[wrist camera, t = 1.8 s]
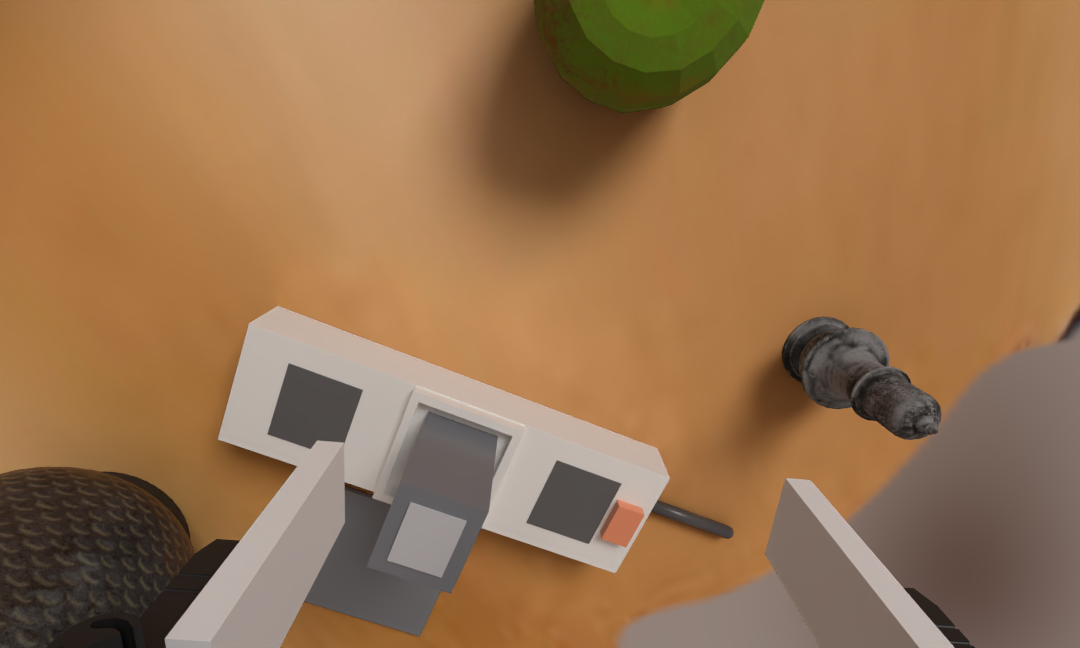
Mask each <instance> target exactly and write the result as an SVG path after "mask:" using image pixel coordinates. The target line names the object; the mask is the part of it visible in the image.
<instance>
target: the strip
mask: <svg viewBox="0 0 1080 648" xmlns="http://www.w3.org/2000/svg"><path fill="white" fill-rule="evenodd" d="M428 411H429V412H432V413H435V414H438V415H440V416H443V417H446V418H449V419H451V420H454V421H457V422H460V423H462V424H465V425H468V426H471V427H473V428H476V429H479V430H482V431H484V432H487V433H490V434H493V435H495V436H498V439H497V448H496V456H495V465H494V473H493V481H492V490H491V498H490V507H489V513H488V515H487V517H486V519H485V521H484V523H483V526H482V528H483V529H486V530H488V531H491V532H494V533H497V534H500V535H503V536H506V537H509V538H512V539H515V540H518V541H521V542H524V543H527V544H530V545H533V546H536V547H539V548H542V549H545V550H548V551H551V552H554V553H557V554H560V555H563V556H566V557H569V558H572V559H575V560H578V561H581V562H584V563H587V564H590V565H592V566H595V567H598V568H601V569H604V570H607V571H610V572H613V573H616V572H617V570H618V568H619V566H620V565H621V563H622V561H623V559H624V558H625V556H626V554H627V552H628V551H629V549H630V547H631V545H632V544H633V542H634V540H635V538H636V537H637V535H638V533H639V531H640V530H641V528H642V526H643V524H644V523H645V521H646V519H647V517H648V516H649V514H650V512H653V513H656V514H659V515H662V516H664V517H667V518H670V519H673V520H676V521H678V522H681V523H684V524H687V525H690V526H692V527H695V528H698V529H701V530H704V531H706V532H709V533H712V534H715V535H718V536H720V537H723V538H726V539H729V538H731V537H732V536H733V529H732V528H731V527H730V526H727V525H725V524H722V523H719V522H716V521H713V520H711V519H708V518H705V517H702V516H700V515H697V514H694V513H691V512H689V511H686V510H683V509H680V508H677V507H675V506H672V505H669V504H666V503H664V502H661V501H658V498H659V497H660V495H661V493H662V491H663V490H664V488H665V486H666V484H667V483H668V481H669V479H670V477H669V475H668V472H667V470H666V468H665V465H664V463H663V461H662V458H661V456H660V454H659V451H658V449H657V448H655V447H652V446H650V445H647V444H644V443H642V442H639V441H636V440H634V439H631V438H628V437H626V436H623V435H620V434H618V433H615V432H612V431H610V430H607V429H604V428H602V427H599V426H596V425H594V424H591V423H588V422H586V421H583V420H580V419H578V418H575V417H572V416H570V415H567V414H564V413H562V412H559V411H556V410H554V409H551V408H548V407H546V406H543V405H541V404H538V403H535V402H533V401H530V400H527V399H525V398H522V397H519V396H517V395H514V394H511V393H509V392H506V391H503V390H501V389H498V388H495V387H493V386H490V385H487V384H485V383H482V382H479V381H477V380H474V379H471V378H469V377H466V376H463V375H461V374H458V373H455V372H453V371H450V370H447V369H445V368H442V367H439V366H437V365H434V364H431V363H429V362H426V361H423V360H421V359H418V358H415V357H413V356H410V355H407V354H405V353H402V352H399V351H397V350H394V349H391V348H389V347H386V346H383V345H381V344H378V343H375V342H373V341H370V340H367V339H365V338H362V337H359V336H357V335H354V334H351V333H349V332H346V331H344V330H341V329H338V328H336V327H333V326H330V325H328V324H325V323H322V322H320V321H317V320H314V319H312V318H309V317H306V316H304V315H301V314H298V313H296V312H293V311H290V310H288V309H285V308H282V307H280V306H277V307H275V308H274V309H272V310H270V311H269V312H267V313H265V314H264V315H262V316H260V317H259V318H257V319H255V320H254V321H252V322H250V323H249V326H248V330H247V333H246V337H245V341H244V344H243V348H242V352H241V356H240V359H239V363H238V367H237V370H236V374H235V378H234V382H233V385H232V389H231V393H230V396H229V400H228V404H227V407H226V411H225V415H224V419H223V422H222V426H221V430H220V433H219V437H218V440H221V441H224V442H227V443H230V444H233V445H236V446H239V447H242V448H245V449H248V450H251V451H254V452H257V453H260V454H263V455H266V456H269V457H272V458H275V459H277V460H280V461H283V462H286V463H289V464H292V465H295V466H298V465H299V464H300V462H301V461H302V460H303V458H304V457H305V456H306V454H307V453H308V452H309V451H310V449H311V448H312V447H313V445H314V444H315V443H316V441H317V440H318V441H330V442H342V443H344V482H346V483H349V484H352V485H355V486H358V487H361V488H364V489H367V490H370V491H373V492H374V494H373V497H372V498H373V499H376V500H379V501H382V502H385V503H388V504H392V502H393V499H394V496H395V494H396V491H397V489H398V486H399V484H400V481H401V479H402V476H403V474H404V471H405V469H406V466H407V464H408V461H409V459H410V456H411V454H412V451H413V449H414V446H415V444H416V441H417V439H418V436H419V434H420V431H421V429H422V426H423V424H424V421H425V419H426V416H427V414H428Z"/></svg>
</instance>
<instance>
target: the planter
mask: <svg viewBox="0 0 1080 648" xmlns="http://www.w3.org/2000/svg"><path fill="white" fill-rule="evenodd" d="M194 554H195V552H194V549H193V547H192V544H191V542H190V534H189V530H188V526H187V523H186V521H185V518H184V516H183V514H182V513H181V511H180V509H179V508H178V506H177V505H176V504H175V503H174V502H173V500H172V499H171V498H169V497H168V496H167V495H166V494H165V493H164V492H163V491H161V490H160V489H158V488H157V487H156V486H154V485H152V484H150V483H148V482H147V481H144V480H142V479H139V478H137V477H134V476H130V475H127V474H122V473H116V472H99V471H94V470H88V469H81V468H73V467H37V468H28V469H20V470H15V471H10V472H6V473H2V474H0V648H47V647H48V646H49V645H50V644H51V642H52V641H53V640H54V639H55V638H56V637H58V636H59V635H60V634H62V633H63V632H65V631H66V630H67V629H69V628H70V627H72V626H74V625H76V624H78V623H80V622H82V621H84V620H86V619H88V618H90V617H94V616H98V615H102V614H105V613H110V612H126V613H129V614H132V615H134V616H137V618H138V619H139V618H140V617H141V616H142V614H143V613H144V612H145V611H146V610H147V609H148V607H149V606H150V605H151V604H152V603H153V602H154V600H155V599H156V598H157V597H158V596H159V595H160V593H161V592H164V591H165V588H166V586H167V585H168V584H169V583H170V582H171V581H172V580H173V578H174V577H175V576H178V573H179V571H180V570H181V569H182V568H183V567H184V566H185V564H186V563H187V562H188V561H189V560H190V559H191V557H192V556H193V555H194Z"/></svg>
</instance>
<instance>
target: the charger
mask: <svg viewBox="0 0 1080 648" xmlns="http://www.w3.org/2000/svg"><path fill="white" fill-rule="evenodd" d="M497 439H498V436H495V435H493V434H490V433H487V432H484V431H482V430H479V429H476V428H473V427H471V426H468V425H465V424H462V423H460V422H457V421H454V420H451V419H449V418H446V417H443V416H440V415H438V414H435V413H432V412H429V411H428V414H427V416H426V419H425V421H424V424H423V426H422V429H421V431H420V434H419V436H418V439H417V441H416V444H415V446H414V449H413V451H412V454H411V456H410V459H409V461H408V464H407V466H406V469H405V471H404V474H403V476H402V479H401V481H400V484H399V486H398V489H397V491H396V494H395V496H394V499H393V502H392V504H391V507H390V509H389V512H388V514H387V517H386V519H385V522H384V524H383V527H382V529H381V532H380V534H379V537H378V539H377V542H376V544H375V547H374V549H373V552H372V554H371V557H370V559H369V562H368V564H367V567H368V568H371V569H375V570H378V571H381V572H384V573H387V574H390V575H394V576H397V577H400V578H403V579H406V580H409V581H413V582H416V583H419V584H422V585H425V586H428V587H432V588H435V589H438V590H441V591H444V592H447V593H451V592H452V590H453V588H454V586H455V584H456V581H457V579H458V577H459V575H460V573H461V571H462V569H463V566H464V564H465V562H466V560H467V558H468V556H469V553H470V551H471V549H472V547H473V545H474V543H475V541H476V538H477V536H478V534H479V532H480V530H481V528H482V526H483V523H484V521H485V519H486V517H487V515H488V513H489V507H490V498H491V490H492V481H493V473H494V465H495V456H496V448H497Z"/></svg>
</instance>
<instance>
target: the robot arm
mask: <svg viewBox="0 0 1080 648" xmlns="http://www.w3.org/2000/svg"><path fill="white" fill-rule="evenodd" d="M344 523H345V483H344V443H342V442H330V441H318V440H317V441H316V443H315V444H314V445H313V447H312V448H311V449H310V451H309V452H308V453H307V454H306V456H305V457H304V458H303V460H302V461H301V462H300V464H299V465H298V466H297V467H296V469H295V470H294V471H293V473H292V474H291V475H290V477H289V478H288V479H287V480H286V482H285V483H284V484H283V486H282V487H281V488H280V490H279V491H278V492H277V493H276V495H275V496H274V497H273V499H272V500H271V501H270V503H269V504H268V505H267V506H266V508H265V509H264V510H263V512H262V513H261V514H260V516H259V517H258V518H257V519H256V521H255V522H254V523H253V525H252V526H251V527H250V529H249V530H248V531H247V532H246V534H245V535H244V536H243V538H242V539H241V540H240V541H236V540H222V539H216V540H215V541H213V542H212V543H210V544H209V545H207V546H206V547H204V548H203V549H201V550H200V551H198V552H197V553H195V554H194V555H193V556H192V557H191V559H190V560H189V561H188V562H187V563H186V564H185V566H184V567H183V568H182V569H181V570H180V571H179V573H178V576H175V577H174V578H173V580H172V581H171V582H170V583H169V584H168V585H167V586H166V588H165V591H164V592H161V593H160V595H159V596H158V597H157V598H156V599H155V600H154V602H153V603H152V604H151V605H150V606H149V607H148V609H147V610H146V611H145V612H144V613H143V614H142V616H141V617H140V618H139V619H138V618H137V616H134V615H132V614H129V613H126V612H110V613H105V614H102V615H98V616H94V617H90V618H88V619H86V620H84V621H82V622H80V623H78V624H76V625H74V626H72V627H70V628H69V629H67V630H66V631H65V632H63V633H62V634H60V635H59V636H58V637H56V638H55V639H54V640H53V641H52V642H51V644H50V645H49V646H48V647H47V648H280V646H281V645H282V643H283V641H284V639H285V637H286V635H287V633H288V631H289V629H290V627H291V625H292V623H293V621H294V620H295V618H296V616H297V614H298V612H299V610H300V608H301V606H302V604H303V602H304V600H305V598H306V596H307V595H308V593H309V591H310V589H311V587H312V585H313V583H314V581H315V579H316V577H317V575H318V573H319V571H320V570H321V568H322V566H323V564H324V562H325V560H326V558H327V556H328V554H329V552H330V550H331V548H332V546H333V545H334V543H335V541H336V539H337V537H338V535H339V533H340V531H341V529H342V527H343V525H344ZM765 555H766V556H767V558H768V560H769V561H770V563H771V565H772V566H773V568H774V570H775V572H776V573H777V575H778V577H779V578H780V580H781V582H782V584H783V585H784V587H785V589H786V590H787V592H788V594H789V595H790V597H791V599H792V601H793V602H794V604H795V606H796V607H797V609H798V611H799V613H800V614H801V616H802V618H803V619H804V621H805V623H806V625H807V626H808V628H809V630H810V631H811V633H812V635H813V637H814V638H815V640H816V642H817V643H818V645H819V647H820V648H975V647H974V646H970V644H969V641H968V639H967V638H966V637H965V636H964V635H963V634H962V633H961V632H960V631H959V629H955V625H954V624H953V623H952V622H951V621H950V620H949V618H948V617H946V615H945V614H944V613H943V612H942V611H941V610H940V608H939V607H938V606H937V605H935V604H934V603H933V602H931V601H930V600H929V599H927V598H926V597H925V596H923V595H922V594H920V593H919V592H918V591H916V590H915V589H914V588H903V587H902V586H901V585H900V584H899V582H898V581H897V580H896V579H895V578H894V577H893V576H892V574H891V573H890V572H889V571H888V570H887V569H886V567H885V566H884V565H883V564H882V563H881V562H880V561H879V559H878V558H877V557H876V556H875V555H874V554H873V552H872V551H871V550H870V549H869V548H868V547H867V545H866V544H865V543H864V542H863V541H862V540H861V538H860V537H859V536H858V535H857V534H856V533H855V531H854V530H853V529H852V528H851V527H850V526H849V524H848V523H847V522H846V521H845V520H844V519H843V517H842V516H841V515H840V514H839V513H838V512H837V510H836V509H835V508H834V507H833V506H832V505H831V504H830V502H829V501H828V500H827V499H826V498H825V497H824V495H823V494H822V493H821V492H820V491H819V490H818V488H817V487H816V486H815V485H814V484H813V483H812V481H811V480H802V479H789V478H785V482H784V486H783V489H782V493H781V497H780V500H779V504H778V508H777V511H776V515H775V519H774V522H773V526H772V530H771V533H770V537H769V541H768V545H767V548H766V552H765Z"/></svg>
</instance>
